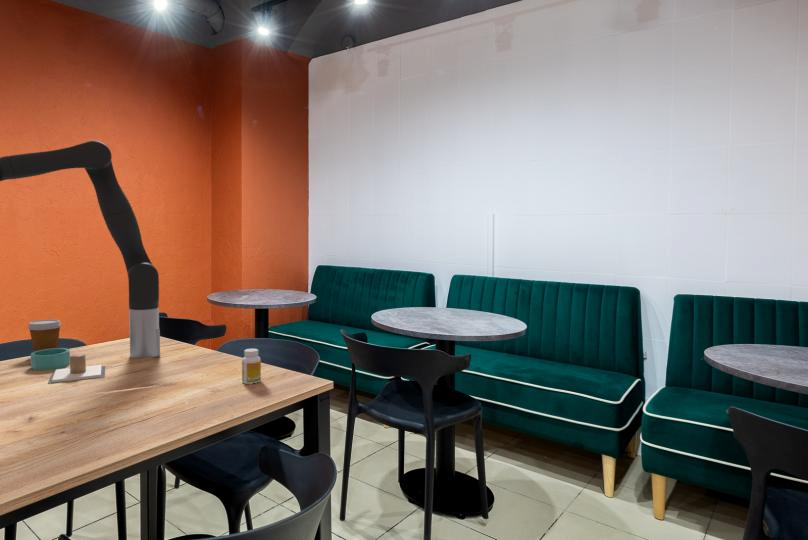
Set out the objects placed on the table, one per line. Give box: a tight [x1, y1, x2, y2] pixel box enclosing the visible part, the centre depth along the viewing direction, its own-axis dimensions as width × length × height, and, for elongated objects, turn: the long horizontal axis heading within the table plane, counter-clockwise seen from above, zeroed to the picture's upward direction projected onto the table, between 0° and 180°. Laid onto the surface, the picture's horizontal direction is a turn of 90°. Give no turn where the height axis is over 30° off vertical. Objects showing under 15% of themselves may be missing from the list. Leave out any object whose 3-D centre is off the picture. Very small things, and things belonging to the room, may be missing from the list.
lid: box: [52, 353, 103, 383], centre depth 151 cm, size 12×12×6 cm
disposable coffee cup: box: [27, 319, 62, 352], centre depth 173 cm, size 10×10×12 cm
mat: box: [47, 365, 106, 385], centre depth 151 cm, size 14×14×1 cm
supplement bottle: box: [241, 348, 262, 385], centre depth 148 cm, size 5×5×10 cm
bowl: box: [30, 347, 71, 371], centre depth 159 cm, size 10×10×5 cm
